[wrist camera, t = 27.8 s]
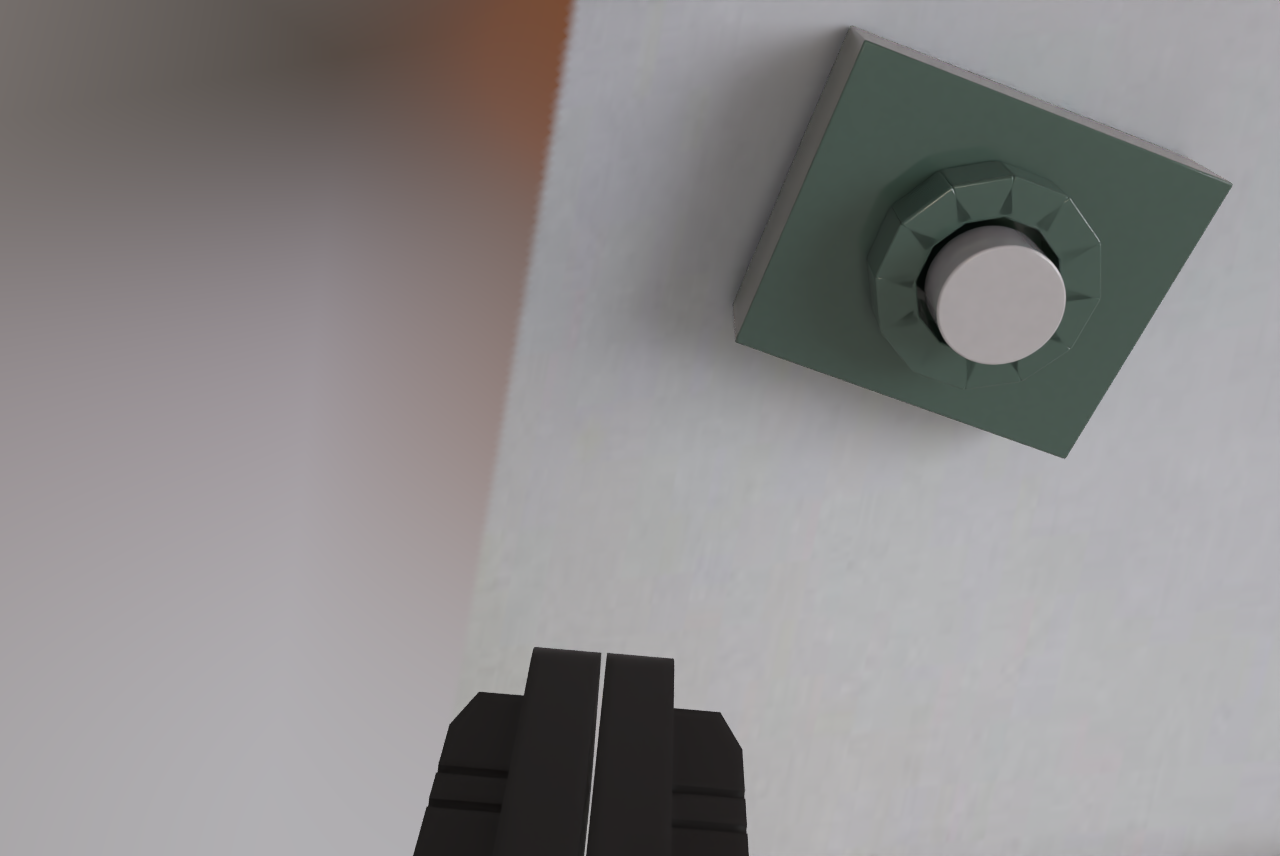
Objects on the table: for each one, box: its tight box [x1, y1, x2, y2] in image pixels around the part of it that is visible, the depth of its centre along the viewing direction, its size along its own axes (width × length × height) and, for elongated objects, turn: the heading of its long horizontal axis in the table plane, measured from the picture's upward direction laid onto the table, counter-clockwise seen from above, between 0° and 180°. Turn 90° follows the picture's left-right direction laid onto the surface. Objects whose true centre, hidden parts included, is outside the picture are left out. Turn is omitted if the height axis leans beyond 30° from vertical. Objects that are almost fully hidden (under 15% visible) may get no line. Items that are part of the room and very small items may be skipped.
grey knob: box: [924, 226, 1066, 365], centre depth 32 cm, size 4×4×2 cm
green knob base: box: [733, 26, 1233, 459], centre depth 35 cm, size 12×10×6 cm
